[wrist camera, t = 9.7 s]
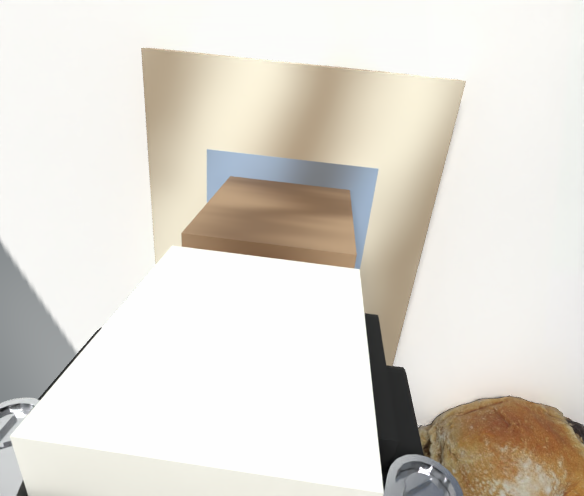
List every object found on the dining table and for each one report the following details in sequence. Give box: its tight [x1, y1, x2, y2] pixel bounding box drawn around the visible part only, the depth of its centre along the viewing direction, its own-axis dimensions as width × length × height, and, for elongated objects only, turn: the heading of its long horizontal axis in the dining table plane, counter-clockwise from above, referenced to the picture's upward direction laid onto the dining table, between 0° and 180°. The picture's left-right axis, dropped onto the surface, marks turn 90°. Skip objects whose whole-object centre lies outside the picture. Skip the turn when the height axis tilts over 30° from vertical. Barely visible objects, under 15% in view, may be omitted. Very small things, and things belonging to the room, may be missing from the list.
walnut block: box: [181, 176, 357, 268], centre depth 15 cm, size 5×5×6 cm
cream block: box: [10, 246, 384, 496], centre depth 9 cm, size 5×5×6 cm
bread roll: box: [418, 396, 584, 496], centre depth 22 cm, size 10×10×8 cm
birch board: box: [141, 48, 466, 366], centre depth 18 cm, size 12×14×1 cm
